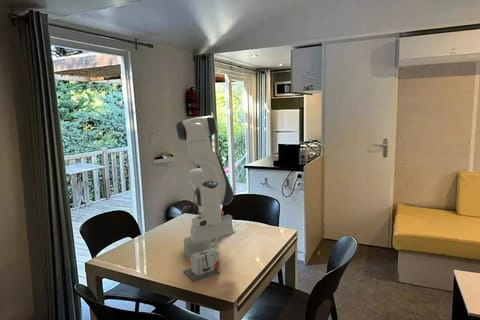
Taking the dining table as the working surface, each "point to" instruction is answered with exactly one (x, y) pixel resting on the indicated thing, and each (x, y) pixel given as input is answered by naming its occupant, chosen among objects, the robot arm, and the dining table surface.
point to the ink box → (205, 261)
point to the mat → (195, 277)
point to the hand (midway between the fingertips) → (213, 247)
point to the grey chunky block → (194, 246)
